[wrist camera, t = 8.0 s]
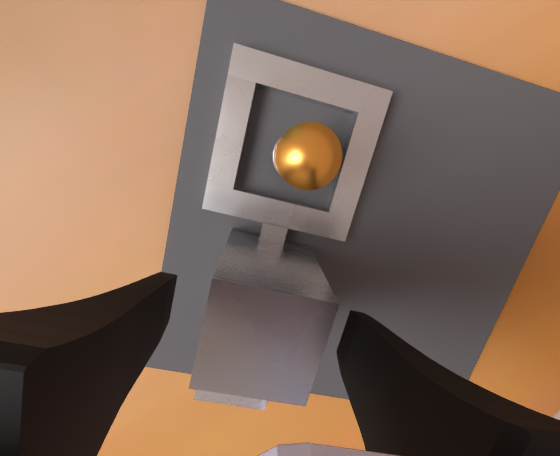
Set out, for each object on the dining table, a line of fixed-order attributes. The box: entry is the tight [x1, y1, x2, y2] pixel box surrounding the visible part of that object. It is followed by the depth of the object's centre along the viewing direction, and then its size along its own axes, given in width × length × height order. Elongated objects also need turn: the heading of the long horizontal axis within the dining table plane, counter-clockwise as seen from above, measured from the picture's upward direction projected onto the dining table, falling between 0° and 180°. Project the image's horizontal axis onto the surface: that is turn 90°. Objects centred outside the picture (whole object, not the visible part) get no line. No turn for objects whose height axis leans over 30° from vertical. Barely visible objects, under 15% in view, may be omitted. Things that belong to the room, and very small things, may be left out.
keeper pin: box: [271, 122, 342, 191], centre depth 11 cm, size 2×2×5 cm
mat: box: [146, 0, 560, 399], centre depth 15 cm, size 19×19×1 cm
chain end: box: [189, 43, 393, 410], centre depth 12 cm, size 18×7×6 cm, turn 166°
